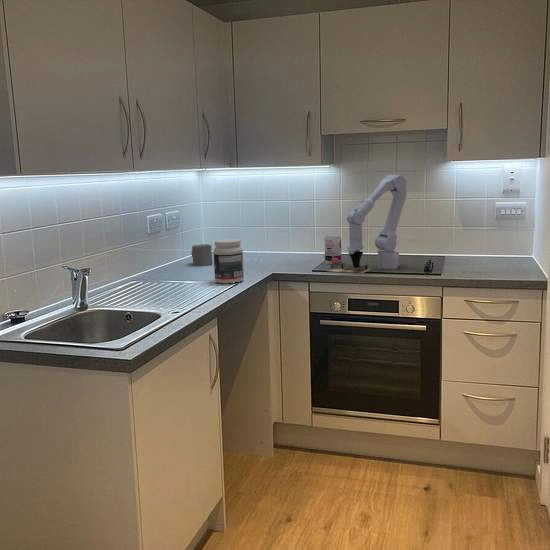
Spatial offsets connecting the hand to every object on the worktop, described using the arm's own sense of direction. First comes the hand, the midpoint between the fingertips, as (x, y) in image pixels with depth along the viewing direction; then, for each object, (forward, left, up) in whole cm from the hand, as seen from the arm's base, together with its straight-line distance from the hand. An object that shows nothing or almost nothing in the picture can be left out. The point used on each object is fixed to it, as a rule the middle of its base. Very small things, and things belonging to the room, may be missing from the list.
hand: (356, 267), depth 283 cm
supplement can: (+18, -16, -3) cm, 24 cm away
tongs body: (+5, -3, -1) cm, 6 cm away
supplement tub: (+47, +35, -3) cm, 58 cm away
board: (+4, -1, -3) cm, 5 cm away
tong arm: (+3, -2, -1) cm, 4 cm away
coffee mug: (+86, -2, -3) cm, 86 cm away
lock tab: (+12, -3, +1) cm, 12 cm away
